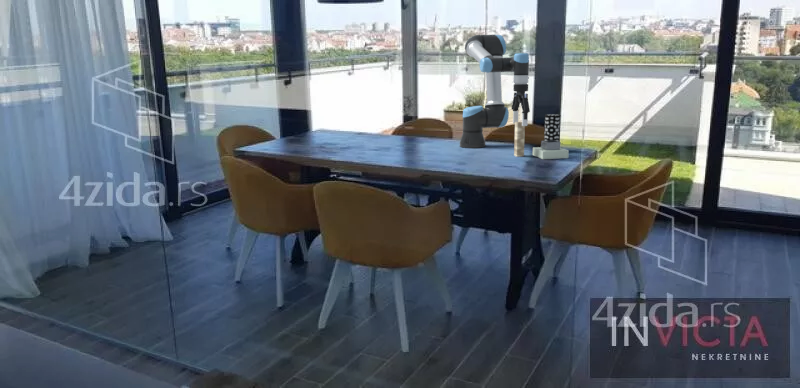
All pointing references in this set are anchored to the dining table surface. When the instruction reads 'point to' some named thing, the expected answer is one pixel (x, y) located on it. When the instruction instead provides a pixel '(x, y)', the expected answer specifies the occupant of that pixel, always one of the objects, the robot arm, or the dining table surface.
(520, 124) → the rail post
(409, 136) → the dining table surface
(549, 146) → the cup bracket
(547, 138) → the spotted tube
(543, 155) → the mounting block
